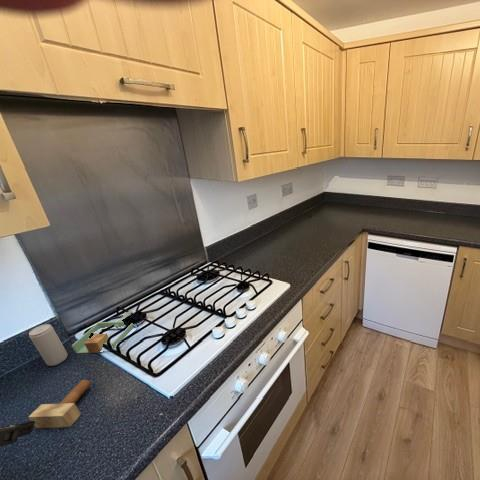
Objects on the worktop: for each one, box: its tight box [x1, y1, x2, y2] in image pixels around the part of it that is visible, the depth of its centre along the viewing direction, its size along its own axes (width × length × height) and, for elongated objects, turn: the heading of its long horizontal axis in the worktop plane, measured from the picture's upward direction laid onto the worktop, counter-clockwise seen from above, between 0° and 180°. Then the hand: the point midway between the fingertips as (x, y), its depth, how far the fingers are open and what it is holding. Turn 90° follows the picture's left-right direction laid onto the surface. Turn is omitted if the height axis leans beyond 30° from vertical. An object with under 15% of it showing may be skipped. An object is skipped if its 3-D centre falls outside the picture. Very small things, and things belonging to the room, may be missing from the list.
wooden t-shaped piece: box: [28, 379, 92, 429], centre depth 64 cm, size 8×4×10 cm
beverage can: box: [28, 323, 69, 367], centre depth 76 cm, size 5×5×12 cm
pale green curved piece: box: [71, 310, 134, 354], centre depth 88 cm, size 18×13×3 cm
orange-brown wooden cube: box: [84, 333, 109, 354], centre depth 81 cm, size 4×4×4 cm
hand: (11, 427), depth 52 cm, fingers open, 8 cm apart
